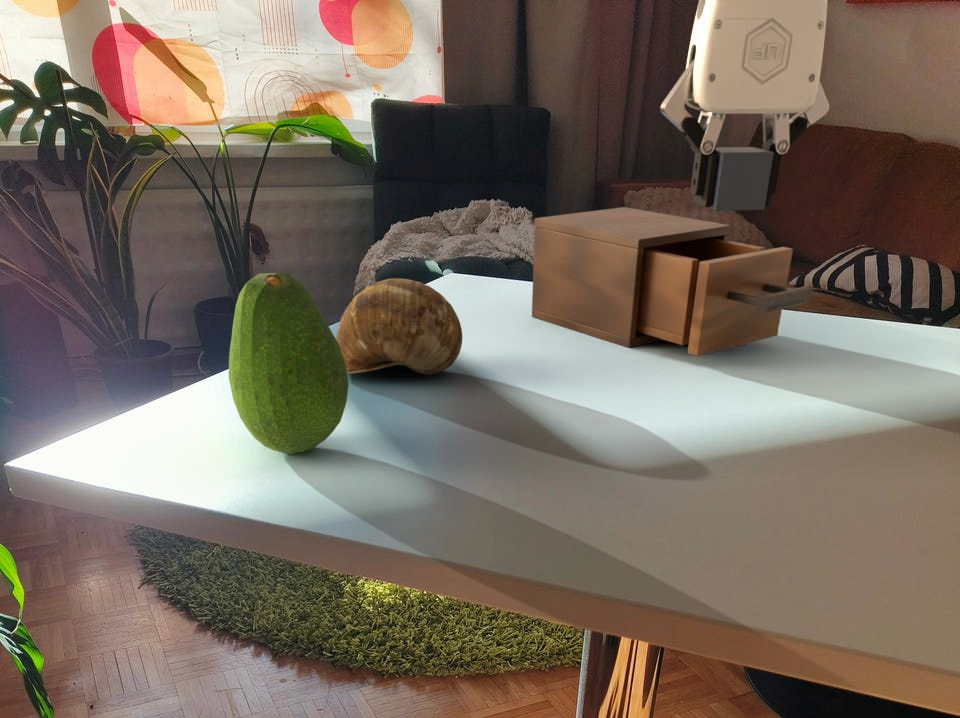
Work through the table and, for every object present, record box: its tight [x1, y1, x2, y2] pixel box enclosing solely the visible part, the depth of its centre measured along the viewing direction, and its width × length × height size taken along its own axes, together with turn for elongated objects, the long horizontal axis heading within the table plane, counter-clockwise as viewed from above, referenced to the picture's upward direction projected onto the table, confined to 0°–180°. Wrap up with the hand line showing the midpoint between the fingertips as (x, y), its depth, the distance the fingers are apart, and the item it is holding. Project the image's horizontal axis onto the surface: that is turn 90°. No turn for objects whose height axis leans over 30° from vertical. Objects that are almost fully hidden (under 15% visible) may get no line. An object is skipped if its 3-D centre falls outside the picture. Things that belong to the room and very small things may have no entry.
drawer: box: [636, 237, 813, 357], centre depth 83 cm, size 18×11×8 cm, turn 37°
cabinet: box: [531, 206, 732, 348], centre depth 90 cm, size 15×13×10 cm
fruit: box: [228, 272, 349, 455], centre depth 60 cm, size 8×8×12 cm
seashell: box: [335, 277, 463, 376], centre depth 76 cm, size 11×9×8 cm
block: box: [708, 146, 773, 212], centre depth 77 cm, size 4×4×4 cm
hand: (731, 202), depth 78 cm, fingers closed on block, 4 cm apart
